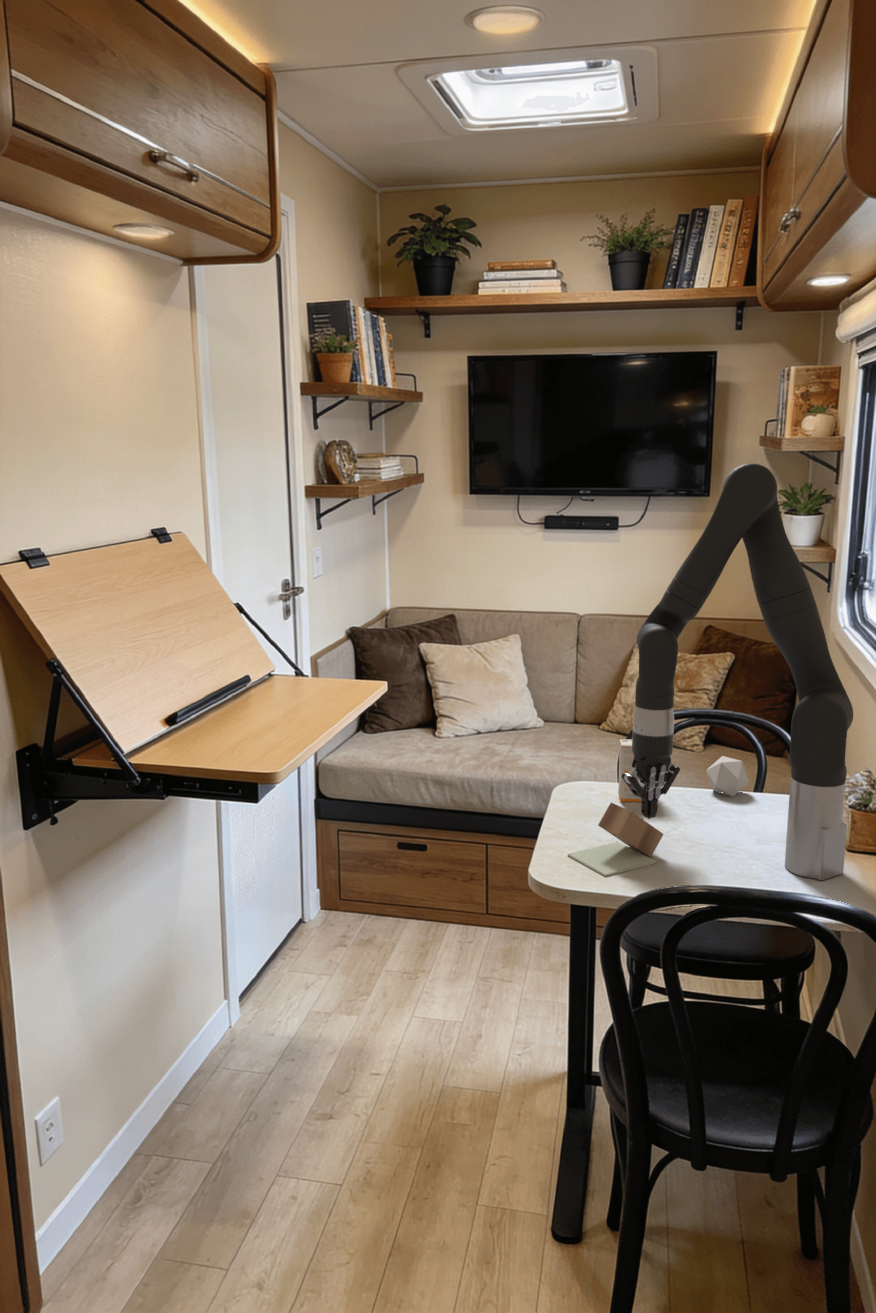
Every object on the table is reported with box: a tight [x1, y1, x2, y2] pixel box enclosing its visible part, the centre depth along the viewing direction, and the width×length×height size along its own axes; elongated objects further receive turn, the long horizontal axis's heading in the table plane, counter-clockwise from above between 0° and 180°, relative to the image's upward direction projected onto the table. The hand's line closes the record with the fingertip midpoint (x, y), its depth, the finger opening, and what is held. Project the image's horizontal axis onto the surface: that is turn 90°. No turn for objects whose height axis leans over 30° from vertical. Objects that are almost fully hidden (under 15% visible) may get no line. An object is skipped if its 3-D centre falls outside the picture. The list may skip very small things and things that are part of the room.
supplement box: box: [617, 738, 647, 803], centre depth 218 cm, size 8×5×13 cm, turn 84°
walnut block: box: [597, 802, 664, 858], centre depth 188 cm, size 6×5×10 cm
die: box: [705, 755, 750, 798], centre depth 222 cm, size 8×9×10 cm
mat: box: [567, 841, 657, 878], centre depth 186 cm, size 11×12×1 cm
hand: (649, 816), depth 190 cm, fingers closed
